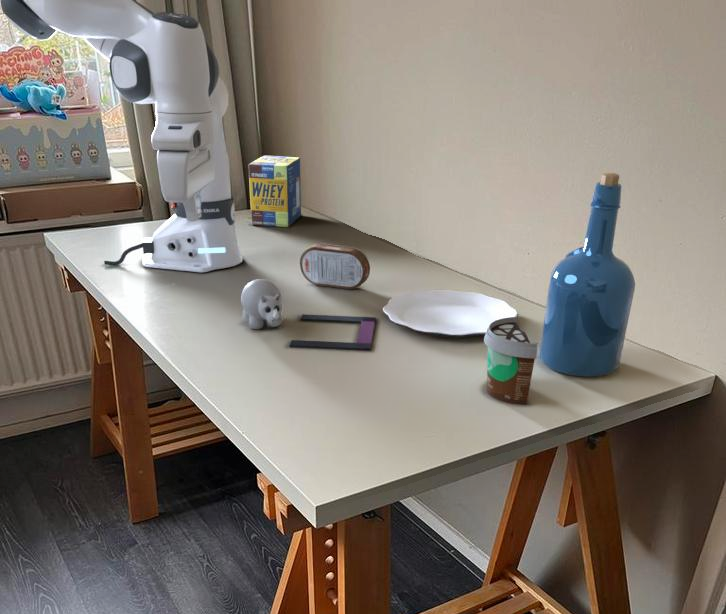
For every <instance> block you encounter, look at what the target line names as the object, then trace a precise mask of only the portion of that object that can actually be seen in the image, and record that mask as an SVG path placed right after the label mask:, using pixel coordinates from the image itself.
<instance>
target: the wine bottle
mask: <svg viewBox="0 0 726 614" xmlns="http://www.w3.org/2000/svg"><path fill="white" fill-rule="evenodd" d="M619 181H620V175H619V174H618V173H616V172H615V173H614V172H603V173H602V174H601V175H600V181H599V182H597V183H596V184H595V186H594V191H593V194H592V198H591V202H590V203H589V206H590V207H591V208H590V212H589V216H588V223H587V227H586V232H585V236H584V242H583V246H581V247H578V248H575V249H573V250H571V252H569V253H567V254H566V255H565V256H564V258H563V259H561V260H560V261H558V262H557V264H555V266H554V267H553V269H552V270H551V272H550V276H549V284H548V290H547V298H546V305H545V312H544V319H543V325H542V331H541V339H540V345H539V357H540V362H541V363H542V364H543V365H545V366H546V367H548V369H550V370H552V371H555V372H559V373H561V374H566V375H569V376H577V377H579V376H580V377H587V378H588V377H589V378H591V377H592V378H593V377H598V376H605V375H608V374H610V373H611V372H613V371H615V370H616V369H617V368H618V366H619V365H620V364H621V358H622V352H623V347H624V345H625V344H624V343H625V339H626V333H627V329H628V324H629V319H630V314H631V308H632V304H633V299H634V295H635V289H636V281H635V277H634V274H633V271H632V270H631V267H630V266H629V265H628V264H627V263H626V262H625V261H624V260H622V259H621V258H619V257H618V256H616V255H615V254H614V252H613V246H614V241H615V234H616V228H617V227H616V226H617V222H618V221H617V220H618V213H619V209H621V199H622V197H621V196H622V184H621V183H619Z"/></svg>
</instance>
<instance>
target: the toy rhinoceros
mask: <svg viewBox="0 0 726 614" xmlns="http://www.w3.org/2000/svg"><path fill="white" fill-rule="evenodd" d="M240 303H241V306H242V309H243V311H242V314H241V318H242V321H243V322H244V323H248V327H249V328H250V329H252V330H259V329H262V328H263V326H264V322H265V325H266V327H268V328H277V327H279V326H280V325H281V324H282V322H283V320H284V319H283V314H282V311H283V305H282V296H281V293H280V290H279V288H278V287H277V285H276V284H274V282H272V281H270V280H268V279H264V278H257V279H253V280H251V281H250V282H248V283H247V284H246V285H245V286H244V287H243V289H242V292H241V295H240Z"/></svg>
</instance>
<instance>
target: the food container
mask: <svg viewBox="0 0 726 614" xmlns="http://www.w3.org/2000/svg"><path fill="white" fill-rule="evenodd" d="M483 342H484V345H486V346H487V367H486V393H487V394H488V395H489V396H490V397H492V398H494V399H495V400H497V401H501V402H504V403H509V404H513V405H527V403H528V399H529V392H530V387H531V383H532V376H533V371H534V365H535V360H536V359H537V358H538V357H537V355H538V343H536V342H531V341H530V340H529V337H528V334H527V333H526V331H525V330H522V329H521V328H520V326H519V325H518V316H517V317H508V318H502V319H498V320H496V321H494V322H492V323H491V324H490V326H489V327H488V329H487V331H486V334H485V335H484V337H483Z"/></svg>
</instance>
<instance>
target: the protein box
mask: <svg viewBox="0 0 726 614" xmlns="http://www.w3.org/2000/svg"><path fill="white" fill-rule="evenodd" d="M248 181H249V184H248V185H249V199H250V200H249V203H250V216H251V217H250V219H251V221H250V222H251V225H252V226H266V227H279V228H280V227H281V228H289V227H290V226H291V225H292V224H293V223H295V221H297V220H298V219H299V218H300V217H301V216H302V195H301V193H302V192H301V190H302V189H301V187H302V186H301V157H296V156H284V155H282V156H281V155H270V154H269V155H267V154H265V155H262V156H260V157H259V158H257V159H255V160H254V161H252V162H250V163H249V164H248Z"/></svg>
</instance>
